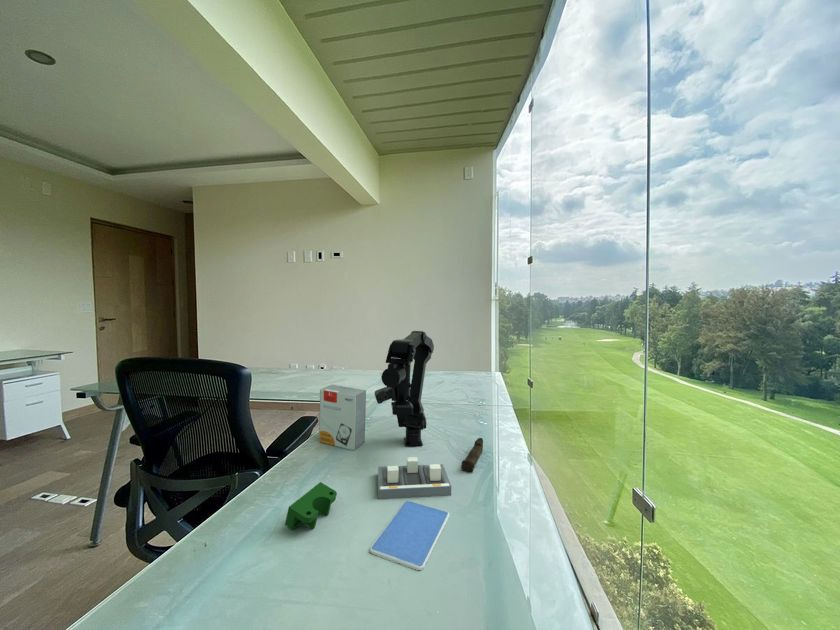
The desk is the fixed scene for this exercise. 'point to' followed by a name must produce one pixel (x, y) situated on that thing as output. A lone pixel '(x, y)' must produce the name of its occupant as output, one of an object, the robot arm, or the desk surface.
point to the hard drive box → (342, 416)
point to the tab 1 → (392, 474)
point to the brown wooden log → (473, 456)
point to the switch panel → (412, 483)
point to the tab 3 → (435, 472)
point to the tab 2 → (412, 465)
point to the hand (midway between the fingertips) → (400, 426)
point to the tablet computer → (411, 535)
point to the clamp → (310, 506)
